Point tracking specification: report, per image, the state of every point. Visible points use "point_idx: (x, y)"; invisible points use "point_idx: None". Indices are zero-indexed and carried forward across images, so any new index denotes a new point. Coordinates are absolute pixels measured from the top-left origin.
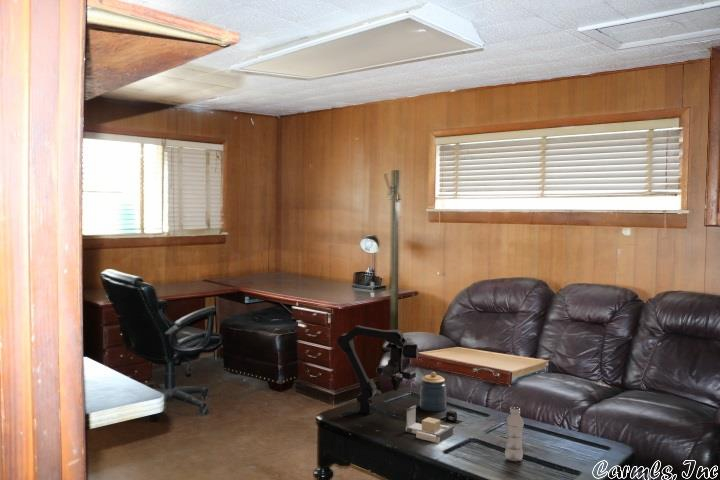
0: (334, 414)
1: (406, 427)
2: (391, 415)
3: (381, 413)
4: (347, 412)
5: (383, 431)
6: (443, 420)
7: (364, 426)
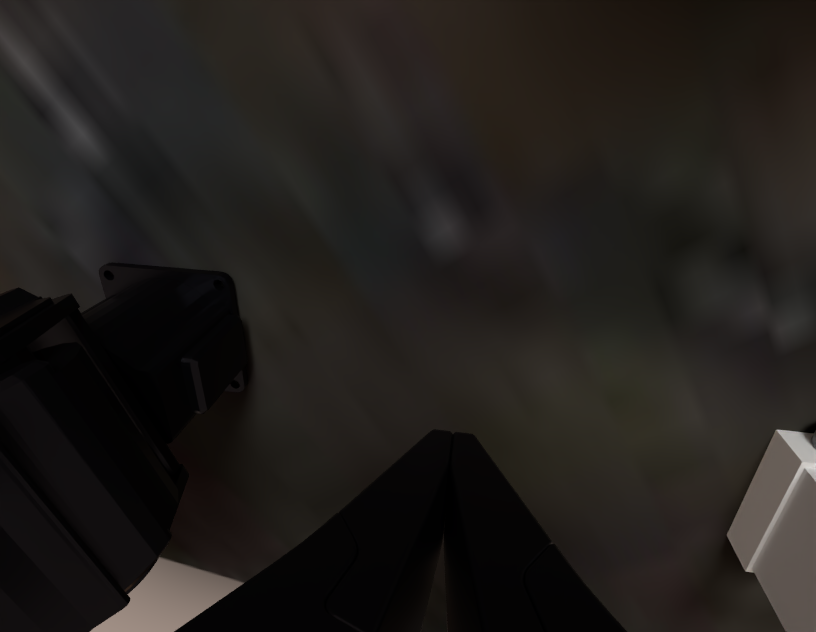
0: None
1: (750, 566)
2: (427, 256)
3: (308, 256)
4: None
5: None
6: None
7: None
